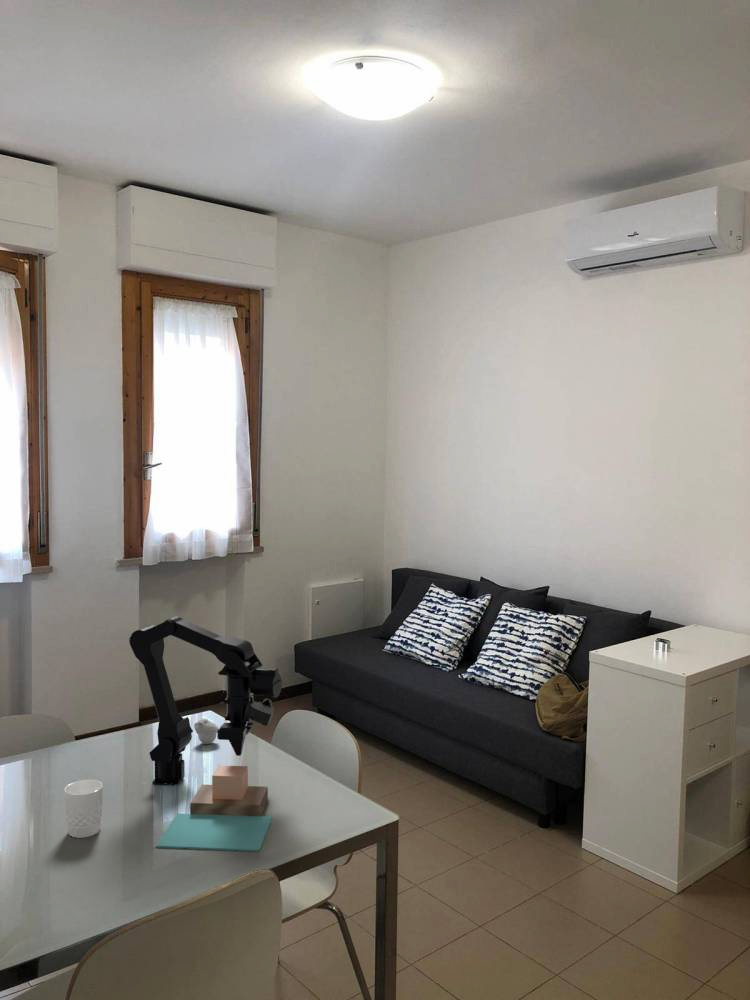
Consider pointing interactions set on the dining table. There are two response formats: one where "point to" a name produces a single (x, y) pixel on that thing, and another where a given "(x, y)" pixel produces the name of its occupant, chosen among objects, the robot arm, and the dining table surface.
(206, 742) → the grey rounded piece
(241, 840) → the teal mat
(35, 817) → the dining table surface
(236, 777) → the terracotta block
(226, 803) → the walnut deck
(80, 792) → the white cup
